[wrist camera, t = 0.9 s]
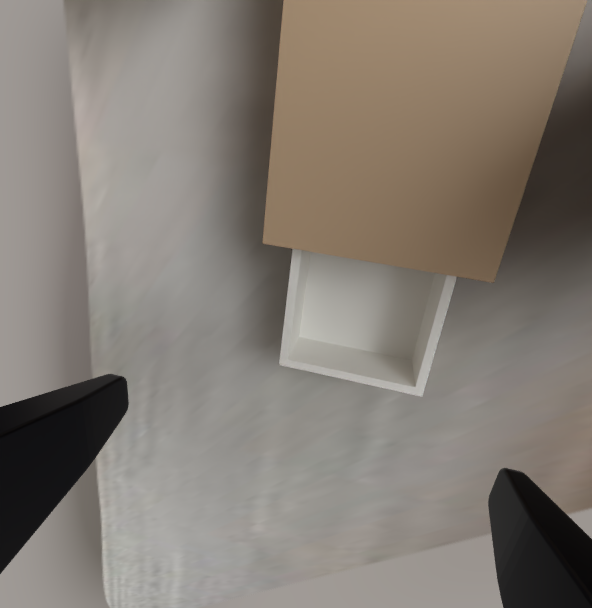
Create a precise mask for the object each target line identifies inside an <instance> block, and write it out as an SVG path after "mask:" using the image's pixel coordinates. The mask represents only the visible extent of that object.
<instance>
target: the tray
mask: <svg viewBox="0 0 592 608" xmlns="http://www.w3.org/2000/svg"><path fill="white" fill-rule="evenodd" d="M456 279H457V277H456V276H450V275H444V274H438V273H432V272H427V271H421V270H415V269H409V268H403V267H397V266H391V265H385V264H380V263H374V262H368V261H362V260H356V259H350V258H344V257H339V256H333V255H327V254H321V253H315V252H309V251H303V250H297V249H293V250H292V259H291V267H290V276H289V284H288V293H287V301H286V310H285V318H284V327H283V335H282V344H281V352H280V361H279V365H282V366H286V367H291V368H295V369H300V370H304V371H309V372H313V373H318V374H322V375H327V376H331V377H336V378H340V379H345V380H349V381H354V382H358V383H363V384H367V385H372V386H376V387H381V388H385V389H390V390H394V391H399V392H403V393H408V394H412V395H417V396H421V397H422V396H423V392H424V389H425V386H426V382H427V379H428V375H429V372H430V368H431V365H432V361H433V358H434V355H435V351H436V348H437V344H438V341H439V337H440V334H441V331H442V327H443V324H444V320H445V317H446V313H447V310H448V307H449V303H450V300H451V296H452V293H453V289H454V286H455V283H456Z"/></svg>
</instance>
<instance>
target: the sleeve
mask: <svg viewBox="0 0 592 608" xmlns="http://www.w3.org/2000/svg"><path fill="white" fill-rule="evenodd" d="M586 3H587V0H284V1H283V12H282V24H281V35H280V47H279V58H278V70H277V81H276V93H275V104H274V116H273V127H272V139H271V150H270V162H269V173H268V185H267V196H266V208H265V219H264V231H263V242H262V244H268V245H274V246H280V247H286V248H292V249H297V250H303V251H309V252H315V253H321V254H327V255H333V256H339V257H344V258H350V259H356V260H362V261H368V262H374V263H380V264H385V265H391V266H397V267H403V268H409V269H415V270H421V271H427V272H432V273H438V274H444V275H450V276H456V277H462V278H468V279H473V280H479V281H485V282H491V283H494V281H495V278H496V275H497V272H498V269H499V266H500V263H501V260H502V257H503V254H504V251H505V248H506V245H507V242H508V239H509V236H510V233H511V229H512V226H513V223H514V220H515V217H516V214H517V211H518V208H519V205H520V202H521V199H522V196H523V193H524V190H525V187H526V184H527V181H528V178H529V175H530V172H531V169H532V166H533V163H534V160H535V157H536V154H537V151H538V148H539V145H540V142H541V139H542V136H543V133H544V130H545V127H546V124H547V121H548V118H549V115H550V112H551V109H552V106H553V103H554V100H555V97H556V94H557V91H558V88H559V85H560V82H561V79H562V76H563V73H564V70H565V66H566V63H567V60H568V57H569V54H570V51H571V48H572V45H573V42H574V39H575V36H576V33H577V30H578V27H579V24H580V21H581V18H582V15H583V12H584V9H585V6H586Z"/></svg>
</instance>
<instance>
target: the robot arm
mask: <svg viewBox="0 0 592 608" xmlns="http://www.w3.org/2000/svg"><path fill="white" fill-rule="evenodd" d="M128 404H129V402H128V389H127V381H126V379H125V378H124V377H122V376H118V375H114V374H107V375H104V376H100V377H97V378H94V379H91V380H87V381H84V382H81V383H78V384H74V385H71V386H68V387H64V388H61V389H58V390H55V391H51V392H48V393H45V394H42V395H39V396H35V397H32V398H29V399H25V400H22V401H19V402H15V403H12V404H9V405H6V406H3V407H0V574H1V573H2V571H3V570H4V569H5V568H6V566H7V565H8V564H9V563H10V562H11V560H12V559H13V558H14V557H15V555H16V554H17V553H18V552H19V551H20V549H21V548H22V547H23V546H24V544H25V543H26V542H27V541H28V540H29V539H30V537H31V536H32V535H33V534H34V533H35V531H36V530H37V529H38V528H39V527H40V525H41V524H42V523H43V522H44V520H45V519H46V518H47V517H48V516H49V514H50V513H51V512H52V511H53V509H54V508H55V507H56V506H57V505H58V503H59V502H60V501H61V500H62V499H63V498H64V496H65V495H66V494H67V493H68V491H69V490H70V489H71V488H72V487H73V485H74V484H75V483H76V482H77V481H78V479H79V478H80V477H81V476H82V475H83V473H84V472H85V471H86V470H87V468H88V467H89V466H90V464H91V463H92V462H93V460H94V459H95V458H96V456H97V455H98V453H99V452H100V450H101V449H102V447H103V446H104V444H105V443H106V441H107V440H108V439H109V437H110V436H111V434H112V433H113V431H114V430H115V428H116V427H117V425H118V424H119V422H120V421H121V419H122V418H123V416H124V415H125V413H126V411H127V409H128ZM488 507H489V515H490V524H491V532H492V540H493V548H494V556H495V564H496V572H497V579H498V584H499V590H500V595H501V599H502V603H503V607H504V608H592V539H591V538H590V537H589V536H588V535H587V534H586V533H585V532H584V531H583V530H582V529H581V528H580V527H579V526H578V525H577V524H576V523H575V522H574V521H573V520H572V519H571V518H570V517H569V516H568V515H567V514H566V513H565V512H563V511H562V510H561V509H560V508H559V507H558V506H557V505H556V504H555V503H554V502H553V501H552V500H551V499H550V498H549V497H548V496H547V495H546V494H545V493H544V492H543V491H542V490H541V489H540V488H539V487H538V486H537V485H536V484H535V483H534V482H533V481H532V480H531V479H530V478H529V477H528V476H527V475H526V474H524V473H523V472H520V471H516V470H512V469H508V468H502V469H501V470H500V471H499V473H498V475H497V478H496V480H495V483H494V485H493V488H492V490H491V493H490V495H489V501H488Z"/></svg>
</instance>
